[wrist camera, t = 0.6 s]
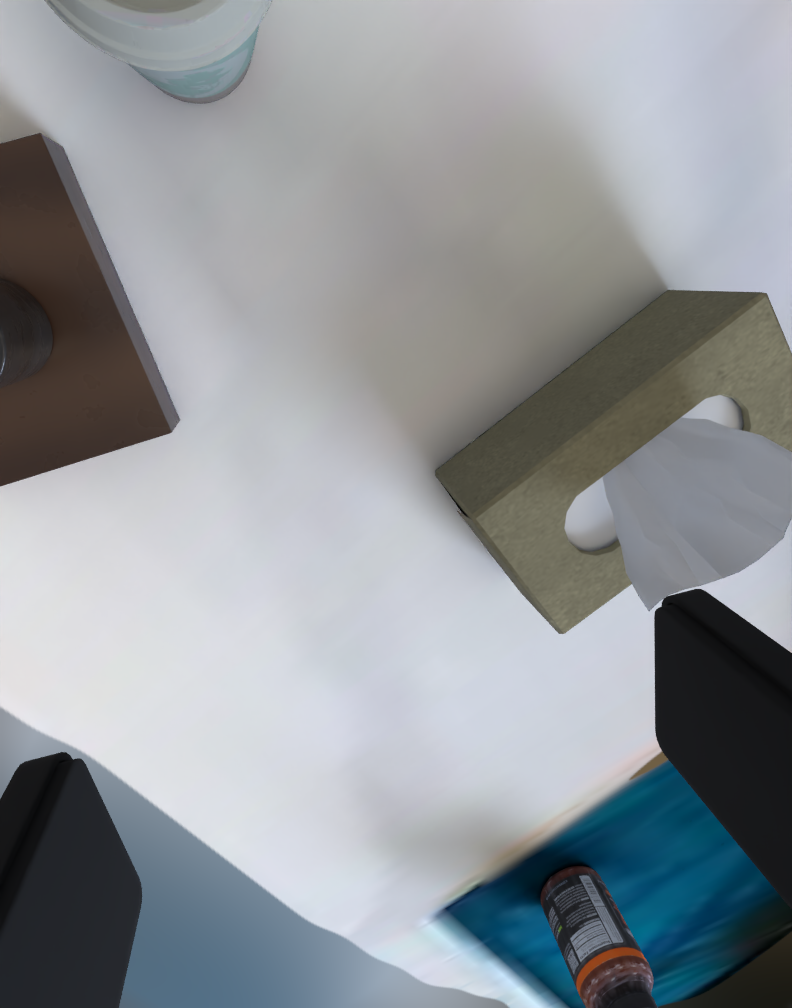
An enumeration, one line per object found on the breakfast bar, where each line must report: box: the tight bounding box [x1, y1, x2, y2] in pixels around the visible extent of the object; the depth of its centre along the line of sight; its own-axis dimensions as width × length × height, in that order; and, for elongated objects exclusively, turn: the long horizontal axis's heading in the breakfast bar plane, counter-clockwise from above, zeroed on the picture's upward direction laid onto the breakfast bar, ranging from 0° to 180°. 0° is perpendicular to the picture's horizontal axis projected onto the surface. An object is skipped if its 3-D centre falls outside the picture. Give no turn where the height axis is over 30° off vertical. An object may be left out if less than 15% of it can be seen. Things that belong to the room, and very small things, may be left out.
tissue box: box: [435, 290, 792, 634], centre depth 32 cm, size 19×10×16 cm, turn 128°
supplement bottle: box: [541, 866, 657, 1008], centre depth 49 cm, size 6×6×11 cm
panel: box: [0, 133, 180, 486], centre depth 30 cm, size 14×11×3 cm
